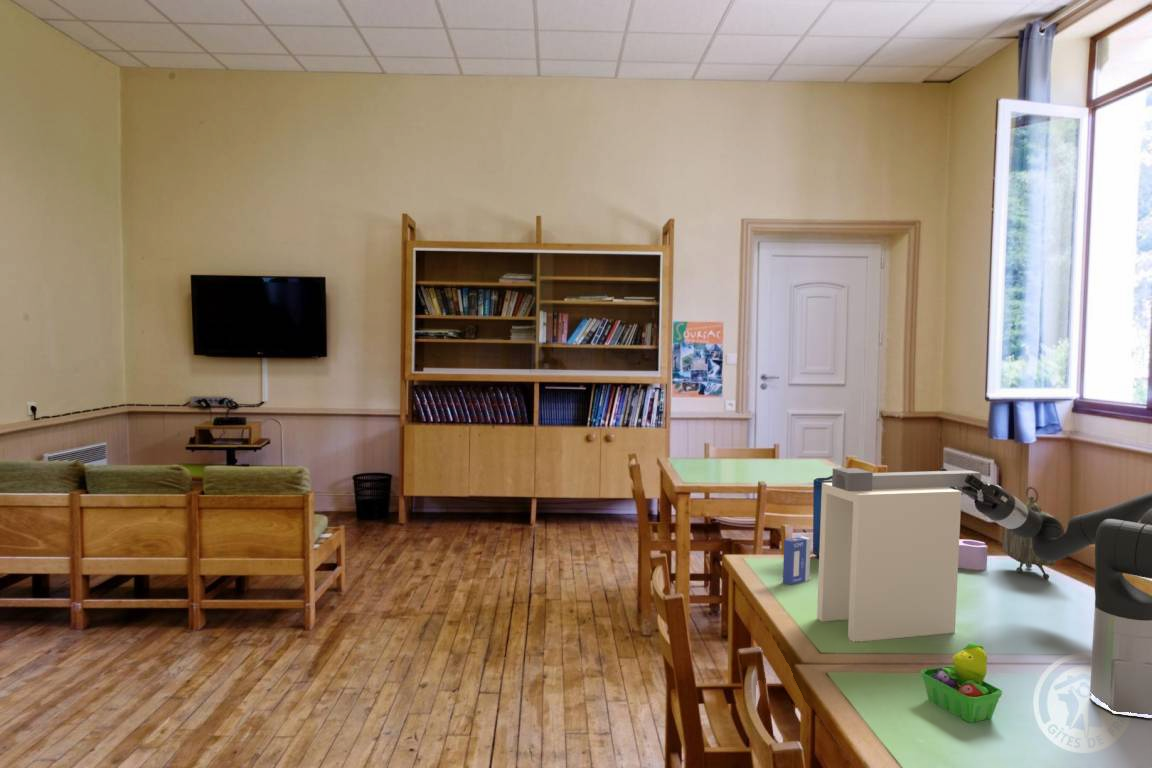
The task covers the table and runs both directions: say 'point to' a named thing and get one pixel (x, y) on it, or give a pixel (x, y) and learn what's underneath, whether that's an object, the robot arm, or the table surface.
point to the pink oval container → (972, 555)
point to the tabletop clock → (1024, 543)
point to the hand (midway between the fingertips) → (953, 474)
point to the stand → (889, 561)
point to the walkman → (796, 560)
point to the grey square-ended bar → (897, 479)
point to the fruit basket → (963, 685)
